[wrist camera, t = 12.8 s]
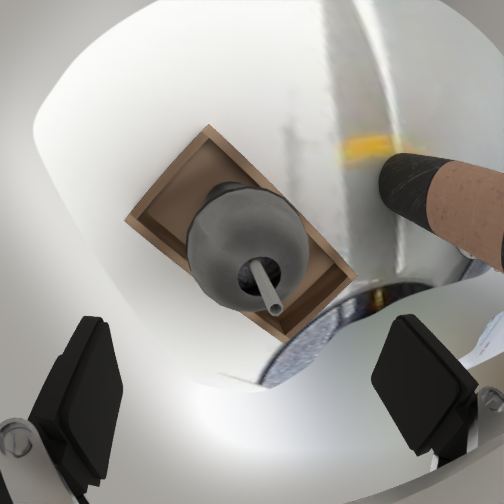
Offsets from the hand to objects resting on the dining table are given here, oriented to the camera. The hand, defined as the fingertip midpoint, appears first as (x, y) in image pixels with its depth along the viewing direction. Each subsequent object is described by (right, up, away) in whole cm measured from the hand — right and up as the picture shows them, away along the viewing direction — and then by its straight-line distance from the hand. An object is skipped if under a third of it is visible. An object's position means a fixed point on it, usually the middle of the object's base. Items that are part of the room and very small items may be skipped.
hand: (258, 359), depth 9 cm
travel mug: (+17, +11, +22) cm, 30 cm away
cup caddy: (-1, +5, +21) cm, 22 cm away
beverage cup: (-2, +8, +20) cm, 21 cm away
